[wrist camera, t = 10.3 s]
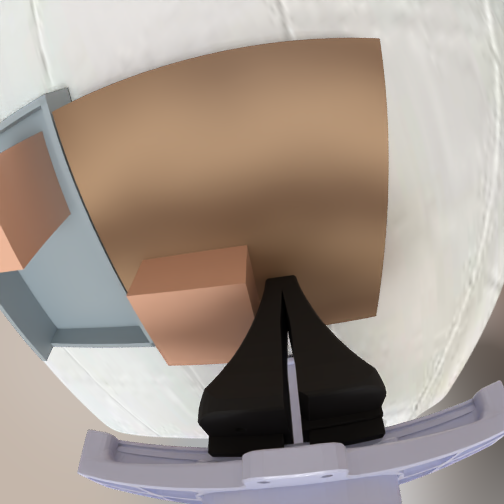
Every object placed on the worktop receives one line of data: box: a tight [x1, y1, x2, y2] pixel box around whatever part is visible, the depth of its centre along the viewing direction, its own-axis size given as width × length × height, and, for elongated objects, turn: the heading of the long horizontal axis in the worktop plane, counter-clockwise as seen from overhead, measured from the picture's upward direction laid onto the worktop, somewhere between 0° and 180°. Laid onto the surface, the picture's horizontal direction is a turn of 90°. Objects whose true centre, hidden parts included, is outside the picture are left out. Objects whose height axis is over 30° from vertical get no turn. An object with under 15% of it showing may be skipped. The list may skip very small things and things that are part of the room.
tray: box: [0, 88, 155, 361], centre depth 14 cm, size 16×10×4 cm, turn 10°
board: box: [52, 38, 389, 325], centre depth 14 cm, size 14×13×2 cm
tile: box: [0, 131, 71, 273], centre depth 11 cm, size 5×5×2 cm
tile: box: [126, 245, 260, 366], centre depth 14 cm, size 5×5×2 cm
